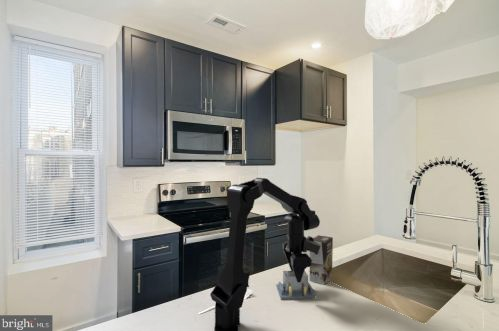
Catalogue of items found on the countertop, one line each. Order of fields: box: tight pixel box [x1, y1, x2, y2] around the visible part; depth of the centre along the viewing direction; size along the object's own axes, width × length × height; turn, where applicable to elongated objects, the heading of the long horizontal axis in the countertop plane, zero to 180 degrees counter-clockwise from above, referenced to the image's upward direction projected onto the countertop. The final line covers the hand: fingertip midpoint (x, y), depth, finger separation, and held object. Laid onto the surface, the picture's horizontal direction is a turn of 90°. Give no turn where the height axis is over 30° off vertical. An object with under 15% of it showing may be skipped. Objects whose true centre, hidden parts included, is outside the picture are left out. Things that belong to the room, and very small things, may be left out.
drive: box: [282, 269, 309, 294], centre depth 91 cm, size 8×4×6 cm, turn 94°
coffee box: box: [308, 234, 334, 285], centre depth 101 cm, size 9×6×16 cm
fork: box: [198, 287, 254, 315], centre depth 84 cm, size 3×20×2 cm, turn 127°
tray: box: [275, 281, 317, 300], centre depth 91 cm, size 12×9×4 cm
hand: (295, 276), depth 91 cm, fingers open, 9 cm apart
